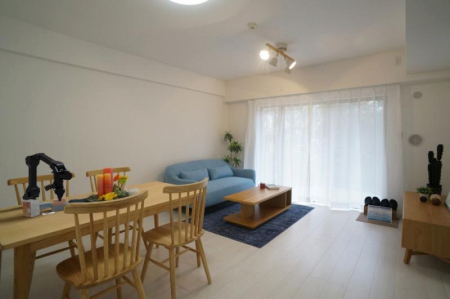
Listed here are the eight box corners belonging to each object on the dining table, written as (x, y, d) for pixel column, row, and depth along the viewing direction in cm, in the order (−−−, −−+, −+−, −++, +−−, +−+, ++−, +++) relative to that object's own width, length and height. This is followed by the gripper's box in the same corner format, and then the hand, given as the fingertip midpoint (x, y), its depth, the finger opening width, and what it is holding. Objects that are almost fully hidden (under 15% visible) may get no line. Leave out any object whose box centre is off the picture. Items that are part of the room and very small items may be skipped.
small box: (22, 216, 156) (21, 201, 155) (31, 213, 161) (31, 198, 160) (31, 217, 153) (30, 202, 153) (40, 214, 159) (39, 199, 158)
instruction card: (41, 213, 161) (41, 213, 161) (54, 211, 165) (54, 211, 165) (42, 215, 157) (42, 215, 157) (54, 213, 162) (54, 212, 162)
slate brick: (39, 208, 173) (38, 203, 173) (50, 206, 178) (50, 201, 178) (39, 210, 169) (39, 204, 169) (51, 208, 174) (51, 202, 174)
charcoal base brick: (50, 209, 169) (50, 204, 169) (67, 206, 176) (67, 201, 176) (51, 212, 163) (51, 206, 163) (68, 209, 170) (68, 204, 170)
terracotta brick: (53, 204, 169) (53, 198, 169) (64, 202, 174) (64, 197, 173) (53, 205, 165) (53, 200, 165) (65, 204, 170) (65, 198, 170)
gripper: (43, 178, 170) (44, 199, 171) (45, 182, 156) (46, 205, 157) (62, 177, 177) (63, 197, 178) (64, 180, 163) (65, 202, 164)
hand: (59, 200), depth 169 cm, fingers open, 6 cm apart
